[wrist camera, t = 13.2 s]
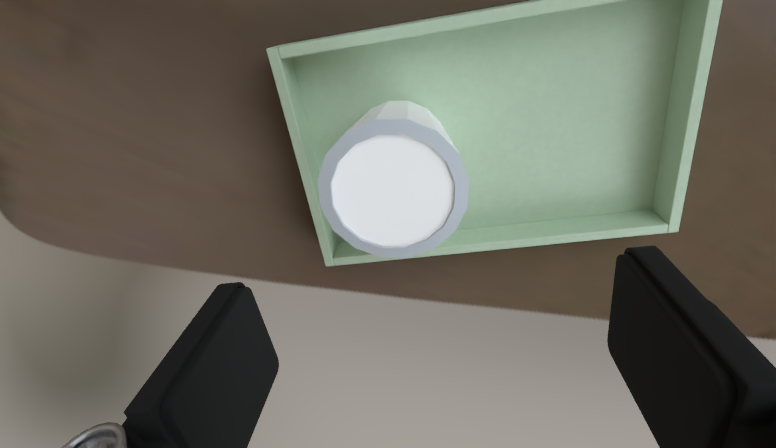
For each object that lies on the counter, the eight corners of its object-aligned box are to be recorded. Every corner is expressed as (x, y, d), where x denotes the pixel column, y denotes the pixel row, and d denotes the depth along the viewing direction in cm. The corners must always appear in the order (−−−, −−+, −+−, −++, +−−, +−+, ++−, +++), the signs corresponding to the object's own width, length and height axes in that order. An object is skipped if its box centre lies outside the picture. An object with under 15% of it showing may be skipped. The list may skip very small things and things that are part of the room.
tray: (695, -29, 20) (729, -33, 18) (656, 212, 26) (678, 232, 24) (280, 44, 23) (265, 48, 20) (332, 247, 29) (325, 267, 26)
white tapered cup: (481, 131, 24) (503, 175, 17) (414, 218, 27) (413, 282, 20) (380, 63, 22) (366, 84, 16) (322, 162, 25) (291, 213, 19)
